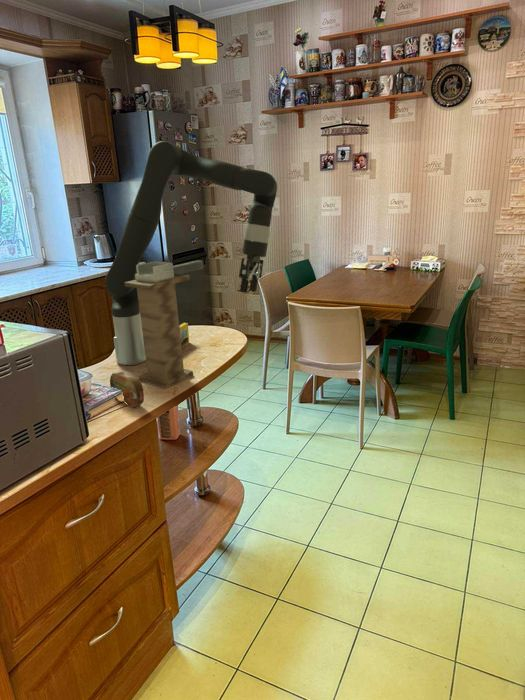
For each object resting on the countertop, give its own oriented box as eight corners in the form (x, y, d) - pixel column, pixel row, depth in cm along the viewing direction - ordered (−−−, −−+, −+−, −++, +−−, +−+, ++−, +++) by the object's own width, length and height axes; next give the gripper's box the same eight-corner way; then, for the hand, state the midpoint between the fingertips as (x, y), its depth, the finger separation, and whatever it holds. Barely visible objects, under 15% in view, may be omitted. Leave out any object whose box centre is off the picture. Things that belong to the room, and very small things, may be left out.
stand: (163, 389, 149) (150, 285, 138) (137, 381, 156) (123, 282, 145) (199, 372, 161) (190, 275, 150) (173, 365, 168) (163, 272, 157)
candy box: (169, 357, 177) (167, 335, 174) (164, 357, 177) (161, 335, 174) (190, 343, 191) (188, 322, 188) (185, 342, 192) (183, 322, 189)
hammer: (154, 283, 142) (152, 267, 140) (135, 280, 146) (133, 265, 145) (210, 269, 160) (208, 255, 158) (192, 267, 164) (190, 253, 163)
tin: (111, 396, 146) (106, 370, 143) (120, 393, 148) (116, 367, 146) (137, 411, 136) (133, 383, 133) (147, 408, 138) (144, 380, 135)
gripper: (252, 239, 161) (245, 288, 164) (236, 236, 148) (228, 290, 151) (274, 243, 159) (266, 293, 162) (260, 240, 146) (251, 294, 149)
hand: (248, 291), depth 157 cm, fingers open, 8 cm apart
